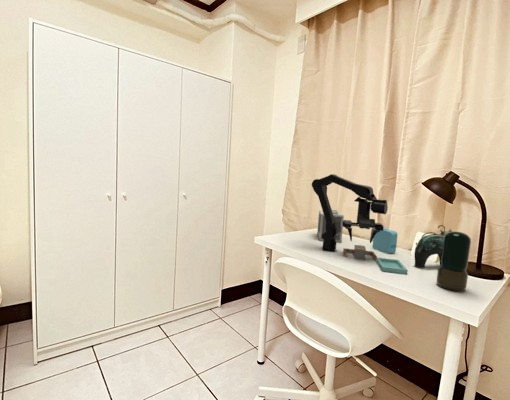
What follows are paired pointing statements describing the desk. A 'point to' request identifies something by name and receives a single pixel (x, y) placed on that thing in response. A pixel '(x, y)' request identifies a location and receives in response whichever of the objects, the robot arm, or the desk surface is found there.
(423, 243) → the travel neck pillow
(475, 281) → the desk surface
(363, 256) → the grey brown block
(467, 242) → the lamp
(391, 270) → the tray
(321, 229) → the alarm clock
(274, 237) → the desk surface
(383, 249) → the data package
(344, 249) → the grey brown u-shaped piece
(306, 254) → the desk surface
